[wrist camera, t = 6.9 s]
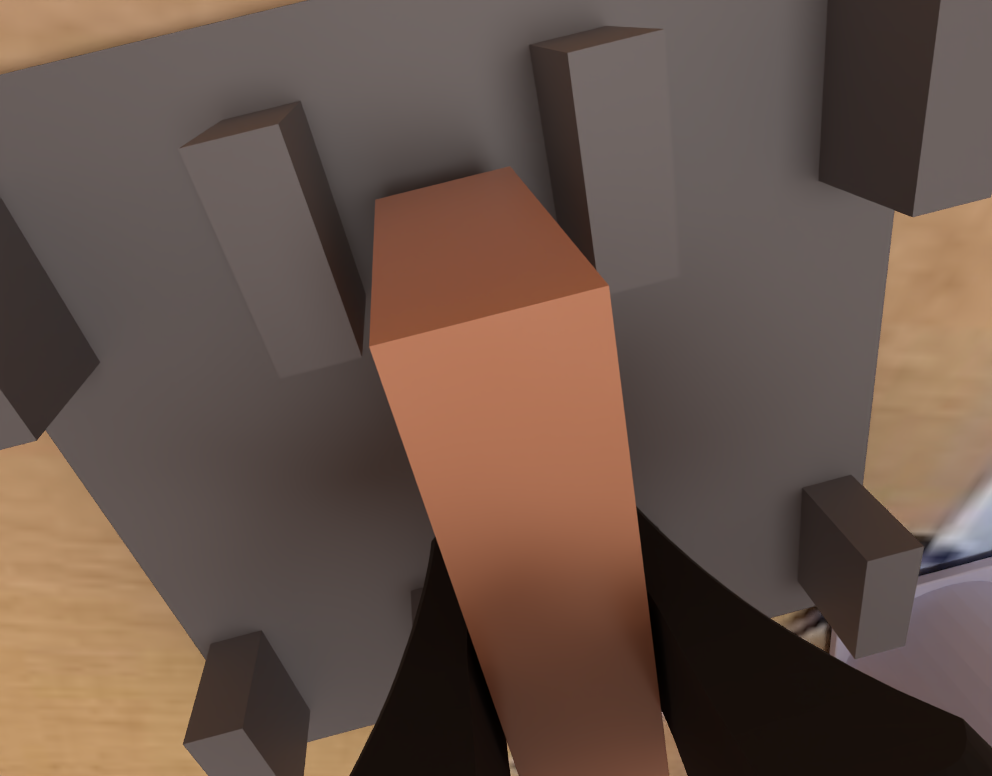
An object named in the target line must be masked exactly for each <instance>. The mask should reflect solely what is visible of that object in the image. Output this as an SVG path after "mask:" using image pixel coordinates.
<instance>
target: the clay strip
mask: <svg viewBox="0 0 992 776" xmlns="http://www.w3.org/2000/svg"><path fill="white" fill-rule="evenodd" d="M369 348H370V350H371V353H372V356H373V359H374V362H375V365H376V368H377V370H378V373H379V376H380V379H381V382H382V385H383V388H384V391H385V393H386V396H387V399H388V402H389V405H390V408H391V411H392V413H393V416H394V419H395V422H396V425H397V428H398V431H399V433H400V436H401V439H402V442H403V445H404V448H405V451H406V454H407V456H408V459H409V462H410V465H411V468H412V471H413V474H414V476H415V479H416V482H417V485H418V488H419V491H420V494H421V497H422V499H423V502H424V505H425V508H426V511H427V514H428V517H429V519H430V522H431V525H432V528H433V531H434V534H435V537H436V539H437V542H438V545H439V548H440V551H441V554H442V557H443V560H444V562H445V565H446V568H447V571H448V574H449V577H450V580H451V582H452V585H453V588H454V591H455V594H456V597H457V600H458V603H459V605H460V608H461V611H462V614H463V617H464V620H465V623H466V625H467V628H468V631H469V634H470V637H471V640H472V643H473V645H474V648H475V651H476V654H477V657H478V660H479V663H480V666H481V668H482V671H483V674H484V677H485V680H486V683H487V686H488V688H489V691H490V694H491V697H492V700H493V703H494V706H495V709H496V711H497V714H498V717H499V720H500V723H501V726H502V729H503V731H504V734H505V737H506V740H507V743H508V746H509V749H510V751H511V754H512V757H513V760H514V763H515V766H516V769H517V772H518V774H519V776H669V770H668V762H667V754H666V745H665V737H664V729H663V721H662V713H661V705H660V697H659V689H658V680H657V672H656V664H655V656H654V648H653V640H652V632H651V624H650V615H649V607H648V599H647V591H646V583H645V575H644V567H643V559H642V550H641V542H640V534H639V526H638V518H637V510H636V502H635V494H634V485H633V477H632V469H631V461H630V453H629V445H628V437H627V429H626V420H625V412H624V404H623V396H622V388H621V380H620V372H619V364H618V355H617V347H616V339H615V331H614V323H613V315H612V307H611V299H610V290H609V285H608V284H607V283H606V281H605V280H604V279H603V278H602V277H601V275H600V274H599V273H598V272H597V271H596V269H595V268H594V267H593V266H592V264H591V263H590V262H589V261H588V260H587V258H586V257H585V256H584V255H583V254H582V252H581V251H580V250H579V249H578V248H577V246H576V245H575V244H574V243H573V242H572V240H571V239H570V238H569V237H568V235H567V234H566V233H565V232H564V231H563V229H562V228H561V227H560V226H559V225H558V223H557V222H556V221H555V220H554V219H553V217H552V216H551V215H550V214H549V213H548V211H547V210H546V209H545V208H544V206H543V205H542V204H541V203H540V202H539V200H538V199H537V198H536V197H535V196H534V194H533V193H532V192H531V191H530V190H529V188H528V187H527V186H526V185H525V184H524V182H523V181H522V180H521V179H520V178H519V176H518V175H517V174H516V173H515V171H514V170H513V169H512V168H511V167H510V166H508V167H504V168H500V169H496V170H492V171H488V172H484V173H480V174H476V175H472V176H468V177H464V178H460V179H456V180H452V181H448V182H444V183H440V184H436V185H432V186H428V187H424V188H420V189H416V190H412V191H408V192H404V193H400V194H396V195H392V196H388V197H384V198H380V199H376V200H375V218H374V242H373V266H372V291H371V315H370V339H369Z"/></svg>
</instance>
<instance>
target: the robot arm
mask: <svg viewBox="0 0 992 776" xmlns="http://www.w3.org/2000/svg"><path fill="white" fill-rule="evenodd" d="M636 510H637V518H638V526H639V534H640V542H641V550H642V559H643V567H644V575H645V583H646V591H647V599H648V607H649V615H650V624H651V632H652V640H653V648H654V656H655V664H656V672H657V680H658V689H659V697H660V705H661V710H662V712H663V714H664V716H665V719H666V721H667V723H668V726H669V728H670V731H671V733H672V735H673V738H674V740H675V743H676V745H677V748H678V751H679V753H680V756H681V759H682V762H683V764H684V767H685V770H686V772H687V775H688V776H992V557H989V558H985V559H982V560H978V561H974V562H970V563H967V564H963V565H959V566H955V567H952V568H948V569H944V570H941V571H937V572H933V573H929V574H926V575H922V576H918V581H917V586H916V591H915V597H914V602H913V607H912V612H911V617H910V623H909V628H908V633H907V638H906V644H905V646H903V647H899V648H895V649H891V650H888V651H884V652H880V653H877V654H873V655H869V656H866V657H862V658H858V659H854V658H853V656H852V655H851V653H850V652H849V651H848V649H847V648H846V647H845V645H844V644H843V643H842V641H841V640H840V638H839V637H838V636H837V634H836V633H835V632H834V630H833V629H832V633H831V643H830V654H828V653H827V652H825V651H823V650H821V649H820V648H818V647H816V646H814V645H813V644H811V643H809V642H807V641H805V640H804V639H802V638H800V637H799V636H797V635H795V634H794V633H792V632H791V631H789V630H788V629H786V628H784V627H783V626H781V625H780V624H778V623H777V622H775V621H773V620H772V619H770V618H769V617H767V616H766V615H765V614H763V613H762V612H760V611H759V610H757V609H756V608H754V607H753V606H751V605H750V604H749V603H747V602H746V601H744V600H743V599H742V598H740V597H739V596H738V595H736V594H735V593H734V592H732V591H731V590H730V589H728V588H727V587H726V586H724V585H723V584H722V583H721V582H719V581H718V580H717V579H715V578H714V577H713V576H712V575H710V574H709V573H708V572H707V571H705V570H704V569H703V568H702V567H701V566H699V565H698V564H697V563H696V562H695V561H693V560H692V559H691V558H690V557H689V556H688V555H687V554H686V553H685V552H683V551H682V550H681V549H680V548H679V547H678V546H677V545H676V544H674V543H673V542H672V541H671V540H670V539H669V538H668V537H667V536H666V535H665V534H664V533H663V532H661V531H660V530H659V529H658V528H657V527H656V526H655V525H654V524H653V523H652V522H651V521H650V520H649V519H648V518H647V517H646V516H645V515H644V514H643V512H642V511H641V510H640V509H639V508H638V507H637V506H636ZM349 776H511V775H510V768H509V761H508V751H507V741H506V737H505V734H504V731H503V729H502V726H501V723H500V720H499V717H498V714H497V711H496V709H495V706H494V703H493V700H492V697H491V694H490V691H489V688H488V686H487V683H486V680H485V677H484V674H483V671H482V668H481V666H480V663H479V660H478V657H477V654H476V651H475V648H474V645H473V643H472V640H471V637H470V634H469V631H468V628H467V625H466V623H465V620H464V617H463V614H462V611H461V608H460V605H459V603H458V600H457V597H456V594H455V591H454V588H453V585H452V582H451V580H450V577H449V574H448V571H447V568H446V565H445V562H444V560H443V557H442V554H441V551H440V548H439V545H438V542H437V539H436V537H434V538H433V540H432V541H431V549H430V556H429V562H428V567H427V572H426V577H425V581H424V586H423V590H422V594H421V598H420V601H419V605H418V609H417V612H416V616H415V619H414V623H413V626H412V630H411V633H410V636H409V639H408V642H407V645H406V648H405V650H404V653H403V656H402V659H401V662H400V665H399V668H398V671H397V673H396V676H395V678H394V681H393V684H392V686H391V689H390V691H389V694H388V696H387V698H386V701H385V703H384V705H383V708H382V710H381V712H380V714H379V717H378V719H377V721H376V723H375V726H374V728H373V730H372V732H371V734H370V736H369V738H368V740H367V742H366V744H365V746H364V748H363V750H362V752H361V754H360V756H359V758H358V760H357V762H356V764H355V766H354V768H353V770H352V772H351V774H350V775H349Z"/></svg>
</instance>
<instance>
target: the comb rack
mask: <svg viewBox="0 0 992 776" xmlns="http://www.w3.org/2000/svg"><path fill="white" fill-rule="evenodd" d="M508 166H510V167H511V168H512V169H513V170H514V171H515V173H516V174H517V175H518V176H519V178H520V179H521V180H522V181H523V182H524V184H525V185H526V186H527V187H528V188H529V190H530V191H531V192H532V193H533V194H534V196H535V197H536V198H537V199H538V200H539V202H540V203H541V204H542V205H543V206H544V208H545V209H546V210H547V211H548V213H549V214H550V215H551V216H552V217H553V219H554V220H555V221H556V222H557V223H558V225H559V226H560V227H561V228H562V229H563V231H564V232H565V233H566V234H567V235H568V237H569V238H570V239H571V240H572V242H573V243H574V244H575V245H576V246H577V248H578V249H579V250H580V251H581V252H582V254H583V255H584V256H585V257H586V258H587V260H588V261H589V262H590V263H591V264H592V266H593V267H594V268H595V269H596V271H597V272H598V273H599V274H600V275H601V277H602V278H603V279H604V280H605V281H606V283H607V284H608V285H609V290H610V299H611V307H612V315H613V323H614V331H615V339H616V347H617V355H618V364H619V372H620V380H621V388H622V396H623V404H624V412H625V420H626V429H627V437H628V445H629V453H630V461H631V469H632V477H633V485H634V494H635V502H636V506H637V507H638V508H639V509H640V510H641V511H642V512H643V514H644V515H645V516H646V517H647V518H648V519H649V520H650V521H651V522H652V523H653V524H654V525H655V526H656V527H657V528H658V529H659V530H660V531H661V532H663V533H664V534H665V535H666V536H667V537H668V538H669V539H670V540H671V541H672V542H673V543H674V544H676V545H677V546H678V547H679V548H680V549H681V550H682V551H683V552H685V553H686V554H687V555H688V556H689V557H690V558H691V559H692V560H693V561H695V562H696V563H697V564H698V565H699V566H701V567H702V568H703V569H704V570H705V571H707V572H708V573H709V574H710V575H712V576H713V577H714V578H715V579H717V580H718V581H719V582H721V583H722V584H723V585H724V586H726V587H727V588H728V589H730V590H731V591H732V592H734V593H735V594H736V595H738V596H739V597H740V598H742V599H743V600H744V601H746V602H747V603H749V604H750V605H751V606H753V607H754V608H756V609H757V610H759V611H760V612H762V613H763V614H765V615H766V616H767V617H769V618H772V617H776V616H780V615H783V614H787V613H791V612H795V611H798V610H802V609H806V608H809V607H813V606H816V607H817V608H818V610H819V611H820V612H821V614H822V615H823V616H824V618H825V619H826V621H827V622H828V623H829V625H830V626H831V627H832V629H833V630H834V632H835V633H836V634H837V636H838V637H839V638H840V640H841V641H842V643H843V644H844V645H845V647H846V648H847V649H848V651H849V652H850V653H851V655H852V656H853V658H854V659H858V658H862V657H866V656H869V655H873V654H877V653H880V652H884V651H888V650H891V649H895V648H899V647H903V646H905V644H906V638H907V633H908V628H909V623H910V617H911V612H912V607H913V602H914V597H915V591H916V586H917V581H918V576H919V570H920V565H921V560H922V555H923V549H924V546H923V545H922V544H921V543H920V542H919V541H918V540H917V539H916V538H915V537H914V536H913V535H912V534H911V533H910V532H909V531H908V530H907V529H906V528H905V527H904V526H903V525H902V524H901V523H900V522H899V521H898V520H897V519H896V518H895V517H894V516H893V515H892V514H891V513H890V512H889V511H888V510H887V509H886V508H885V507H884V506H883V505H882V504H881V503H880V502H879V501H878V500H877V499H876V498H874V497H873V496H872V495H871V494H870V493H869V492H868V491H867V490H866V489H865V488H864V487H863V479H864V470H865V461H866V453H867V444H868V435H869V427H870V418H871V409H872V401H873V392H874V383H875V374H876V366H877V357H878V348H879V340H880V331H881V322H882V314H883V305H884V296H885V287H886V279H887V270H888V261H889V253H890V244H891V235H892V227H893V218H894V210H895V211H898V212H900V213H903V214H905V215H908V216H911V217H915V216H919V215H923V214H927V213H931V212H935V211H939V210H943V209H947V208H951V207H954V206H958V205H962V204H966V203H970V202H974V201H978V200H982V199H986V198H990V197H991V194H992V0H307V1H303V2H299V3H295V4H291V5H287V6H283V7H278V8H274V9H270V10H266V11H262V12H258V13H254V14H249V15H245V16H241V17H237V18H233V19H229V20H225V21H220V22H216V23H212V24H208V25H204V26H200V27H196V28H192V29H187V30H183V31H179V32H175V33H171V34H167V35H163V36H158V37H154V38H150V39H146V40H142V41H138V42H134V43H129V44H125V45H121V46H117V47H113V48H109V49H105V50H101V51H96V52H92V53H88V54H84V55H80V56H76V57H72V58H67V59H63V60H59V61H55V62H51V63H47V64H43V65H38V66H34V67H30V68H26V69H22V70H18V71H14V72H10V73H5V74H1V75H0V450H2V449H6V448H9V447H13V446H17V445H21V444H25V443H29V442H33V441H37V440H38V438H39V437H40V436H41V435H42V433H43V432H44V431H45V430H46V431H47V433H48V434H49V436H50V437H51V439H52V440H53V441H54V443H55V444H56V446H57V447H58V449H59V450H60V452H61V453H62V454H63V456H64V457H65V459H66V460H67V462H68V463H69V464H70V466H71V467H72V469H73V470H74V472H75V473H76V474H77V476H78V477H79V479H80V480H81V482H82V483H83V485H84V486H85V487H86V489H87V490H88V492H89V493H90V495H91V496H92V497H93V499H94V500H95V502H96V503H97V505H98V506H99V507H100V509H101V510H102V512H103V513H104V515H105V516H106V517H107V519H108V520H109V522H110V523H111V525H112V526H113V528H114V529H115V530H116V532H117V533H118V535H119V536H120V538H121V539H122V540H123V542H124V543H125V545H126V546H127V548H128V549H129V550H130V552H131V553H132V555H133V556H134V558H135V559H136V561H137V562H138V563H139V565H140V566H141V568H142V569H143V571H144V572H145V573H146V575H147V576H148V578H149V579H150V581H151V582H152V583H153V585H154V586H155V588H156V589H157V591H158V592H159V594H160V595H161V596H162V598H163V599H164V601H165V602H166V604H167V605H168V606H169V608H170V609H171V611H172V612H173V614H174V615H175V616H176V618H177V619H178V621H179V622H180V624H181V625H182V626H183V628H184V629H185V631H186V632H187V634H188V635H189V637H190V638H191V639H192V641H193V642H194V644H195V645H196V647H197V648H198V649H199V651H200V652H201V654H202V655H203V657H204V658H205V659H206V662H205V666H204V670H203V673H202V677H201V681H200V684H199V688H198V691H197V695H196V699H195V702H194V706H193V710H192V713H191V717H190V720H189V724H188V728H187V731H186V735H185V739H184V742H183V745H184V746H185V748H186V749H187V750H188V751H189V753H190V754H191V755H192V756H193V758H194V759H195V760H196V761H197V762H198V764H199V765H200V766H201V767H202V769H203V770H204V771H205V772H206V774H207V775H208V776H304V767H305V757H306V748H307V742H310V741H314V740H317V739H321V738H325V737H329V736H332V735H336V734H340V733H344V732H347V731H351V730H355V729H358V728H362V727H366V726H370V725H373V724H375V723H376V721H377V719H378V717H379V714H380V712H381V710H382V708H383V705H384V703H385V701H386V698H387V696H388V694H389V691H390V689H391V686H392V684H393V681H394V678H395V676H396V673H397V671H398V668H399V665H400V662H401V659H402V656H403V653H404V650H405V648H406V645H407V642H408V639H409V636H410V633H411V630H412V626H413V623H414V619H415V616H416V612H417V609H418V605H419V601H420V598H421V594H422V590H423V586H424V581H425V577H426V572H427V567H428V562H429V556H430V549H431V541H432V540H433V538H434V537H435V534H434V531H433V528H432V525H431V522H430V519H429V517H428V514H427V511H426V508H425V505H424V502H423V499H422V497H421V494H420V491H419V488H418V485H417V482H416V479H415V476H414V474H413V471H412V468H411V465H410V462H409V459H408V456H407V454H406V451H405V448H404V445H403V442H402V439H401V436H400V433H399V431H398V428H397V425H396V422H395V419H394V416H393V413H392V411H391V408H390V405H389V402H388V399H387V396H386V393H385V391H384V388H383V385H382V382H381V379H380V376H379V373H378V370H377V368H376V365H375V362H374V359H373V356H372V353H371V350H370V348H369V339H370V315H371V291H372V266H373V242H374V218H375V200H376V199H380V198H384V197H388V196H392V195H396V194H400V193H404V192H408V191H412V190H416V189H420V188H424V187H428V186H432V185H436V184H440V183H444V182H448V181H452V180H456V179H460V178H464V177H468V176H472V175H476V174H480V173H484V172H488V171H492V170H496V169H500V168H504V167H508ZM661 712H662V710H661Z"/></svg>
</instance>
